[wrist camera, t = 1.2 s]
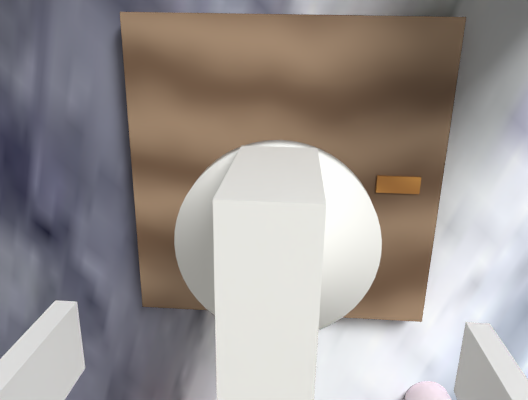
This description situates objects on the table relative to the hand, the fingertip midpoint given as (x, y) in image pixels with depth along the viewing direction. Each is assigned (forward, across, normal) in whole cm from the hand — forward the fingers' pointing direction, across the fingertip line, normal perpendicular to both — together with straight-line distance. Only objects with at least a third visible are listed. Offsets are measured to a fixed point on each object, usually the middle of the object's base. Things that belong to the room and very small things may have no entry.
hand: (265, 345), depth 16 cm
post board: (+21, 0, 0) cm, 21 cm away
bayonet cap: (+9, 0, 0) cm, 9 cm away
